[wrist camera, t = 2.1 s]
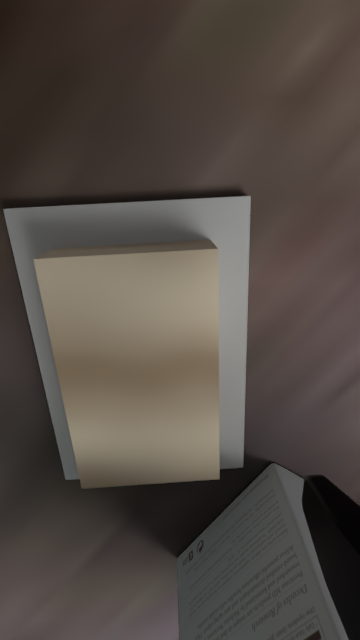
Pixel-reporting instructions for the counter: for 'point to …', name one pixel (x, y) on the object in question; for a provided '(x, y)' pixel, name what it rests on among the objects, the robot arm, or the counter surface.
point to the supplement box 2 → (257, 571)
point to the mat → (138, 228)
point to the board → (137, 358)
